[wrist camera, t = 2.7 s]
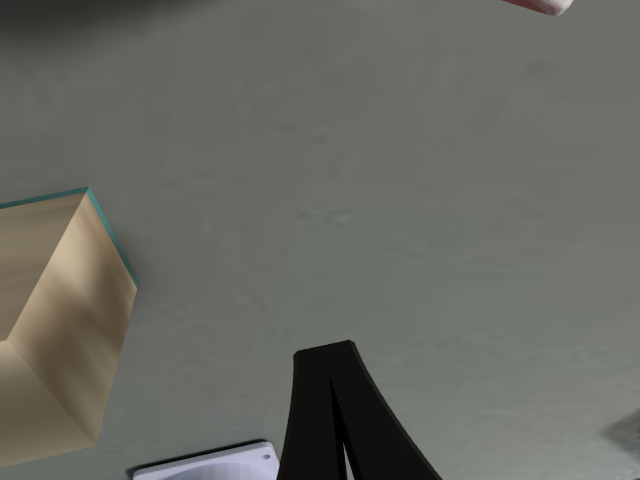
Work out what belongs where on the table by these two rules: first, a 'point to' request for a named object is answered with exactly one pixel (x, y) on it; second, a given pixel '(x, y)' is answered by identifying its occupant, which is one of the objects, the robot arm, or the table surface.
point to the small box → (544, 5)
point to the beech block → (58, 323)
